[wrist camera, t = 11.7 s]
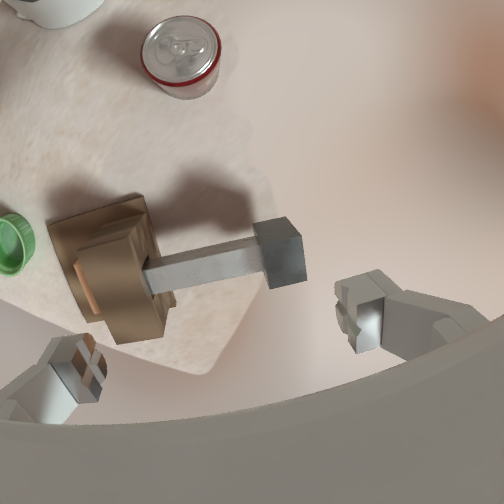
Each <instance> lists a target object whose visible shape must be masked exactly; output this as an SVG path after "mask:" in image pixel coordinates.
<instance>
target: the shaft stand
mask: <svg viewBox="0 0 504 504" xmlns="http://www.w3.org/2000/svg"><path fill="white" fill-rule="evenodd" d="M47 228H48V231H49V234H50V237H51V239H52V242H53V245H54V248H55V250H56V253H57V256H58V258H59V261H60V263H61V266H62V268H63V271H64V273H65V276H66V278H67V281H68V283H69V285H70V288H71V290H72V292H73V294H74V297H75V299H76V301H77V303H78V305H79V307H80V310H81V312H82V314H83V316H84V318H85V320H86V322H87V323H91V322H97V321H103V320H105V322H106V324H107V326H108V328H109V330H110V332H111V334H112V336H113V338H114V340H115V342H116V344H117V345H118V344H125V343H132V342H138V341H144V340H150V339H156V338H162V337H163V335H164V330H165V324H166V319H167V314H168V309H169V308H172V307H176V300H175V297H174V294H173V291H168V292H163V293H158V294H153V295H151V294H150V291H149V288H148V286H147V283H146V280H145V277H144V275H143V272H142V269H141V268H142V266H143V264H144V262H145V261H146V260H150V259H154V258H159V257H161V254H160V251H159V248H158V245H157V241H156V238H155V235H154V231H153V228H152V224H151V221H150V218H149V214H148V210H147V207H146V203H145V200H144V196H141V197H137V198H133V199H130V200H126V201H123V202H119V203H116V204H113V205H109V206H106V207H102V208H99V209H96V210H93V211H89V212H86V213H83V214H80V215H77V216H74V217H71V218H68V219H65V220H62V221H59V222H56V223H53V224H50V225H49V226H47ZM78 259H79V262H80V264H81V267H82V269H83V272H84V274H85V277H86V279H87V282H88V284H89V287H90V289H91V291H92V294H93V296H94V298H95V300H96V303H97V305H98V307H99V309H100V312H101V313H100V314H94V312H93V310H92V308H91V306H90V304H89V301H88V299H87V297H86V295H85V292H84V290H83V288H82V285H81V283H80V281H79V278H78V276H77V273H76V271H75V268H74V266H73V265H74V264H75V263H76V262H77V260H78Z"/></svg>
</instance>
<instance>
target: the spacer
mask: <svg viewBox="0 0 504 504" xmlns="http://www.w3.org/2000/svg"><path fill="white" fill-rule="evenodd" d="M73 266H74V268H75V271H76V273H77V276H78V278H79V281H80V283H81V285H82V288H83V290H84V292H85V295H86V297H87V299H88V301H89V304H90V306H91V308H92V310H93V312H94V314H100V313H101V312H100V309H99V307H98V305H97V303H96V300H95V298H94V296H93V294H92V291H91V289H90V287H89V284H88V282H87V279H86V277H85V274H84V272H83V269H82V267H81V264H80V262H79V259H78V260H77V262H76V263H75V264H74V265H73Z"/></svg>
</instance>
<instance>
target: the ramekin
mask: <svg viewBox="0 0 504 504" xmlns="http://www.w3.org/2000/svg"><path fill="white" fill-rule="evenodd" d="M34 250H35V237H34V233H33V230H32V228H31V226H30V225H29V223H28V222H27V221H26V220H25V219H24V218H23V217H22V216H20V215H18V214H7V215H4V216H2V217H0V274H1V275H4V276H7V277H12V276H16V275H17V274H19V273H20V272H21V271H22V269H23V268H24V266H25V264H26V263H27V262H28V261H29V260H30V258H31V257H32V255H33V253H34Z"/></svg>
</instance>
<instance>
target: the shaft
mask: <svg viewBox="0 0 504 504" xmlns="http://www.w3.org/2000/svg"><path fill="white" fill-rule="evenodd" d="M252 225H253V230H254V235H255V236H252V237H247V238H243V239H238V240H234V241H229V242H225V243H220V244H216V245H211V246H207V247H202V248H198V249H194V250H189V251H185V252H180V253H176V254H172V255H167V256H163V257H159V258H154V259H150V260H146V261H145V262H144V264H143V266H142V268H141V269H142V272H143V275H144V277H145V280H146V283H147V286H148V288H149V291H150V294H151V295H153V294H158V293H163V292H168V291H173V290H177V289H182V288H187V287H191V286H196V285H201V284H205V283H210V282H215V281H219V280H224V279H228V278H233V277H237V276H242V275H246V274H251V273H255V272H260V271H263V272H264V275H265V278H266V280H267V283H268V286H269V289H274V288H278V287H282V286H286V285H290V284H295V283H299V282H303V281H307V274H306V266H305V258H304V250H303V242H302V236H301V234H300V233H299V232H298V231H297V230H296V228H295V227H294V226H293V225H292V224H291V222H290V221H289V220H288V219H287V218H286V217H281V218H276V219H271V220H267V221H262V222H257V223H253V224H252Z"/></svg>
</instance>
